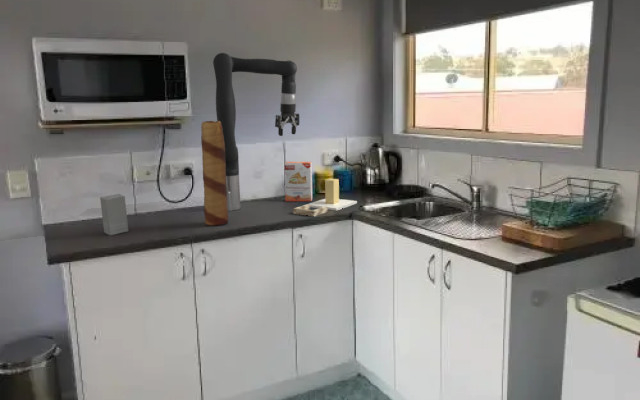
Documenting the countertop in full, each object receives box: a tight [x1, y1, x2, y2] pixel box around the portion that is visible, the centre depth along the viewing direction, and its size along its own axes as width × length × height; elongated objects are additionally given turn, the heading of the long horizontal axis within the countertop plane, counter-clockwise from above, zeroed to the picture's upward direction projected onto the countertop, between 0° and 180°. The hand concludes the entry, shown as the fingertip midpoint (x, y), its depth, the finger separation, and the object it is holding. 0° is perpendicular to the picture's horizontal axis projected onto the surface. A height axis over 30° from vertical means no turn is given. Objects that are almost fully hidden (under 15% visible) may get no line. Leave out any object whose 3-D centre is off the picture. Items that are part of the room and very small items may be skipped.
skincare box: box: [99, 193, 129, 236], centre depth 215 cm, size 8×7×16 cm
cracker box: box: [284, 161, 313, 203], centre depth 274 cm, size 14×6×21 cm, turn 84°
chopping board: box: [308, 198, 358, 211], centre depth 263 cm, size 20×18×1 cm
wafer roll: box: [200, 120, 229, 226], centre depth 225 cm, size 10×11×45 cm
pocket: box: [292, 203, 328, 217], centre depth 246 cm, size 12×12×2 cm
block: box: [324, 178, 340, 204], centre depth 262 cm, size 5×5×12 cm
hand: (287, 134), depth 259 cm, fingers open, 8 cm apart
